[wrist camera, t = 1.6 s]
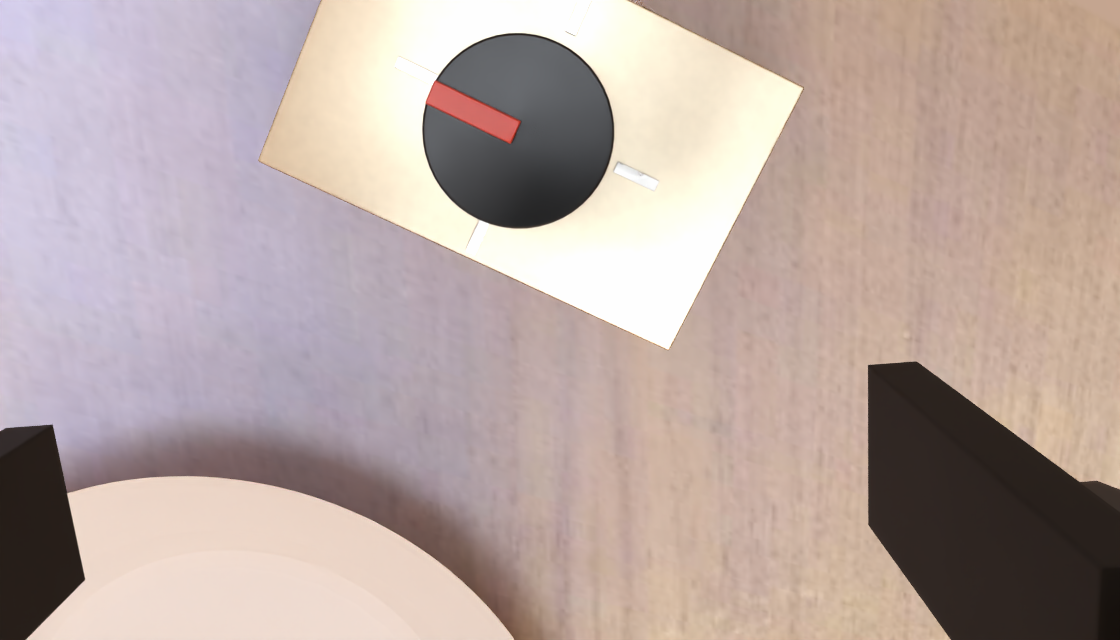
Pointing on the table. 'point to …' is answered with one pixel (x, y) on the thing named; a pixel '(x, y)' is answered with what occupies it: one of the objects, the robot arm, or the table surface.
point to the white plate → (251, 570)
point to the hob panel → (630, 180)
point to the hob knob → (518, 130)
